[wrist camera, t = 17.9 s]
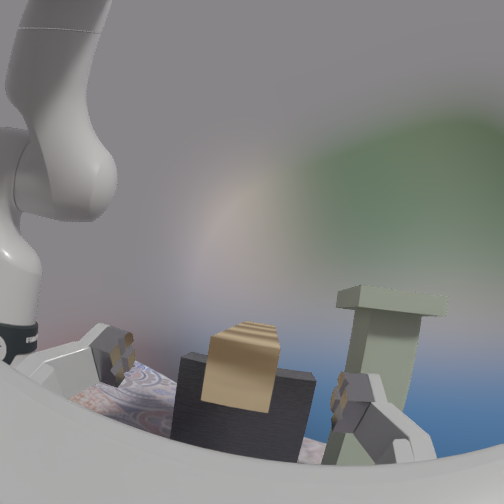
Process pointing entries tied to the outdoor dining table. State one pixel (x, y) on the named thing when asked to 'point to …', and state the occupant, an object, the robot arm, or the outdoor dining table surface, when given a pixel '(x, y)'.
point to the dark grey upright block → (243, 415)
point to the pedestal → (381, 350)
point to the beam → (242, 367)
